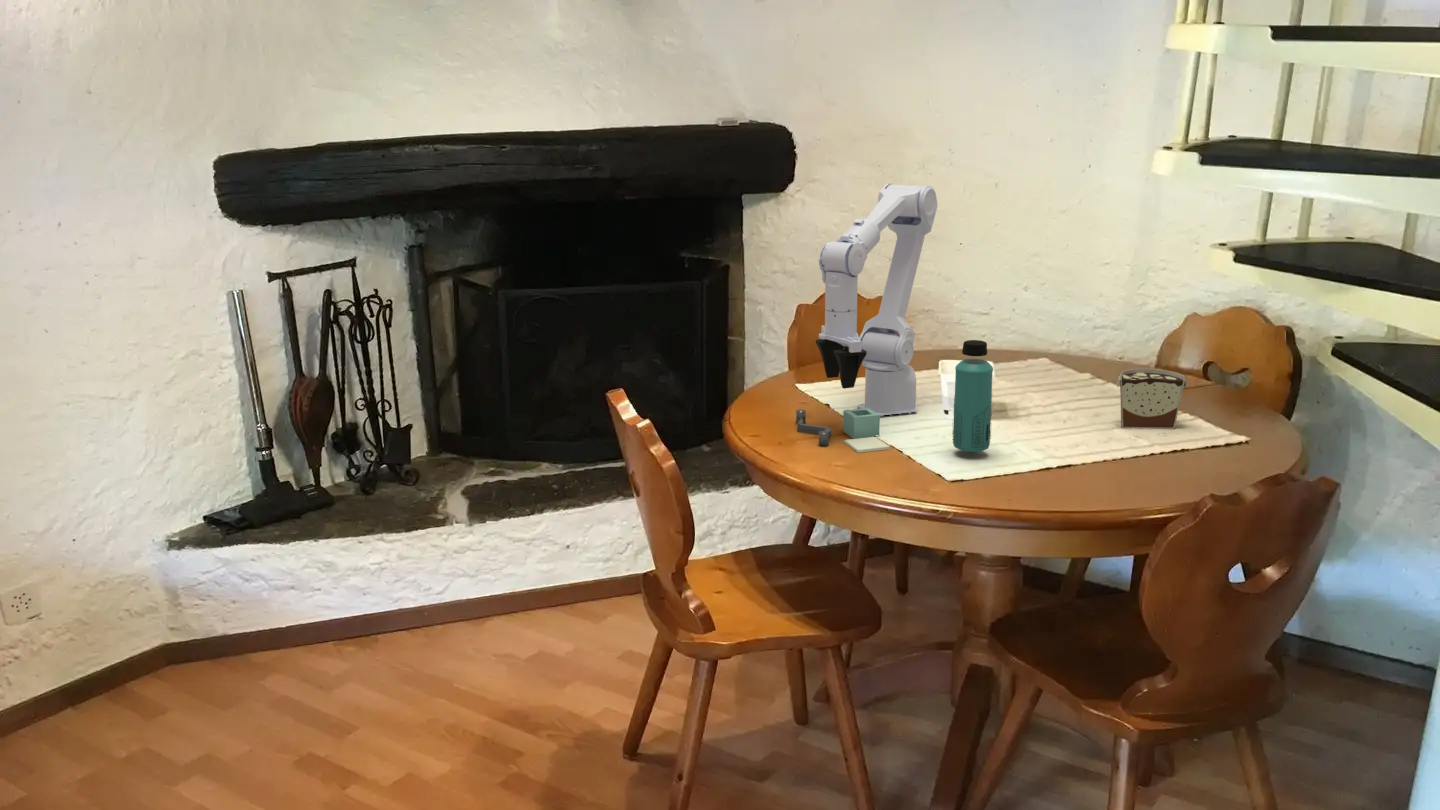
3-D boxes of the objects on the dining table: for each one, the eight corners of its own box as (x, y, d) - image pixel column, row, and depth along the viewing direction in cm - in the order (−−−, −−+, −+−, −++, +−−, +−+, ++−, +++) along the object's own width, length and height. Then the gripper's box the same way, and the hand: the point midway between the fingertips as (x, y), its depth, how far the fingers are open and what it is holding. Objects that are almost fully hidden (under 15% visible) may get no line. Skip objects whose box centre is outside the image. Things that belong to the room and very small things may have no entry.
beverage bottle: (990, 461, 189) (996, 346, 183) (950, 459, 190) (955, 345, 184) (989, 449, 195) (995, 337, 189) (950, 447, 196) (955, 336, 191)
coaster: (875, 439, 201) (875, 436, 201) (889, 449, 196) (889, 446, 195) (844, 442, 199) (844, 440, 199) (857, 452, 194) (857, 450, 194)
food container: (1173, 419, 210) (1178, 368, 207) (1182, 429, 204) (1188, 376, 201) (1105, 418, 211) (1110, 367, 208) (1113, 428, 205) (1118, 375, 203)
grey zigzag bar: (811, 420, 213) (811, 408, 212) (843, 444, 198) (843, 431, 198) (787, 422, 212) (787, 410, 211) (817, 447, 197) (817, 434, 196)
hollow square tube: (867, 428, 207) (868, 407, 206) (879, 436, 203) (879, 415, 202) (843, 431, 206) (843, 410, 205) (853, 438, 201) (854, 417, 200)
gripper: (806, 303, 205) (805, 374, 209) (835, 318, 191) (834, 394, 195) (841, 300, 207) (840, 371, 211) (873, 315, 193) (871, 390, 197)
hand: (840, 382), depth 203 cm, fingers open, 7 cm apart
